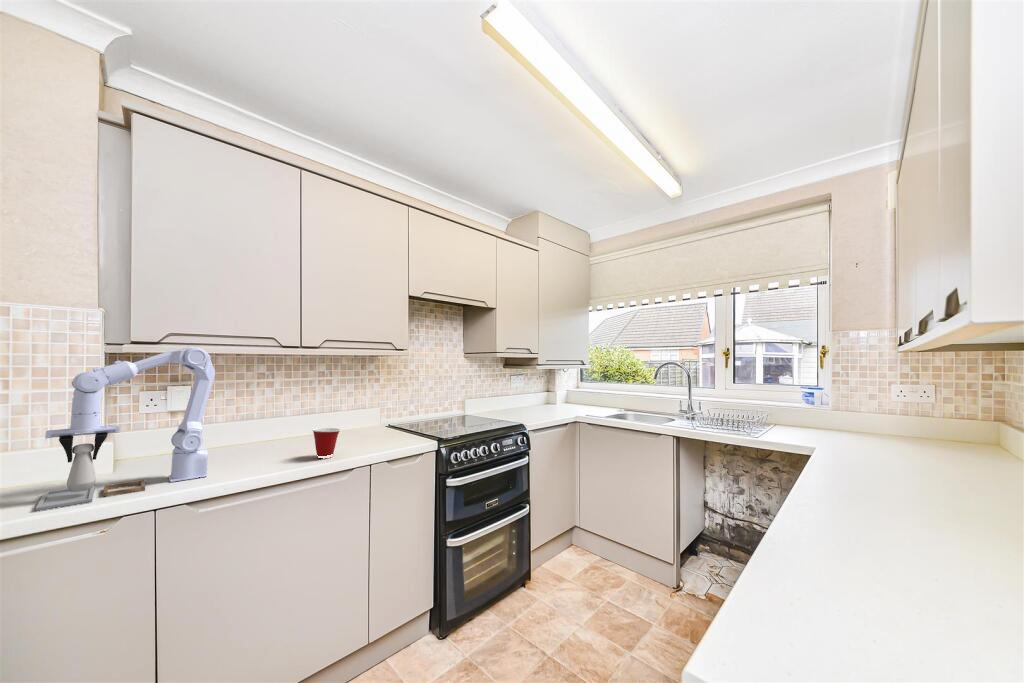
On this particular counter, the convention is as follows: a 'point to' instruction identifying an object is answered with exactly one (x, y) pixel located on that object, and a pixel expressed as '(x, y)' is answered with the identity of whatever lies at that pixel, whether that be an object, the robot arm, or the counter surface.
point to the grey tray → (64, 498)
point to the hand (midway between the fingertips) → (82, 460)
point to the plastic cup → (325, 440)
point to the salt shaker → (82, 469)
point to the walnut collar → (124, 489)
